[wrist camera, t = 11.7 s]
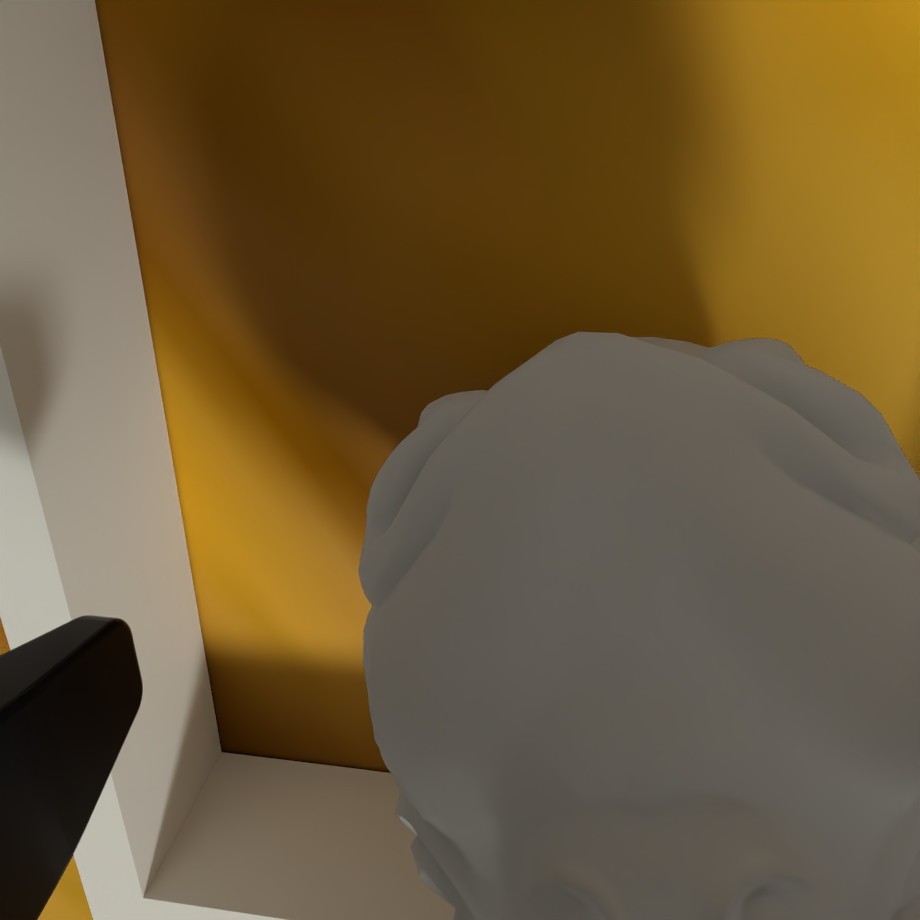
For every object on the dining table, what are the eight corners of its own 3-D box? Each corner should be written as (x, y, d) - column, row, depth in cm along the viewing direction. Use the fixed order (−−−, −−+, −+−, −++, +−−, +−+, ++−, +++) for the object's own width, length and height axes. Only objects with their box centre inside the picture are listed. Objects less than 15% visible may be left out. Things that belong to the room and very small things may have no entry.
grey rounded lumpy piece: (476, 685, 13) (385, 1212, 7) (356, 286, 11) (38, 582, 4) (858, 648, 12) (1156, 1258, 6) (835, 179, 9) (1360, 387, 3)
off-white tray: (988, 887, 14) (1085, 1082, 11) (179, 783, 16) (96, 928, 13) (1498, -194, 7) (2048, -358, 4) (-14, -155, 9) (-266, -253, 6)
